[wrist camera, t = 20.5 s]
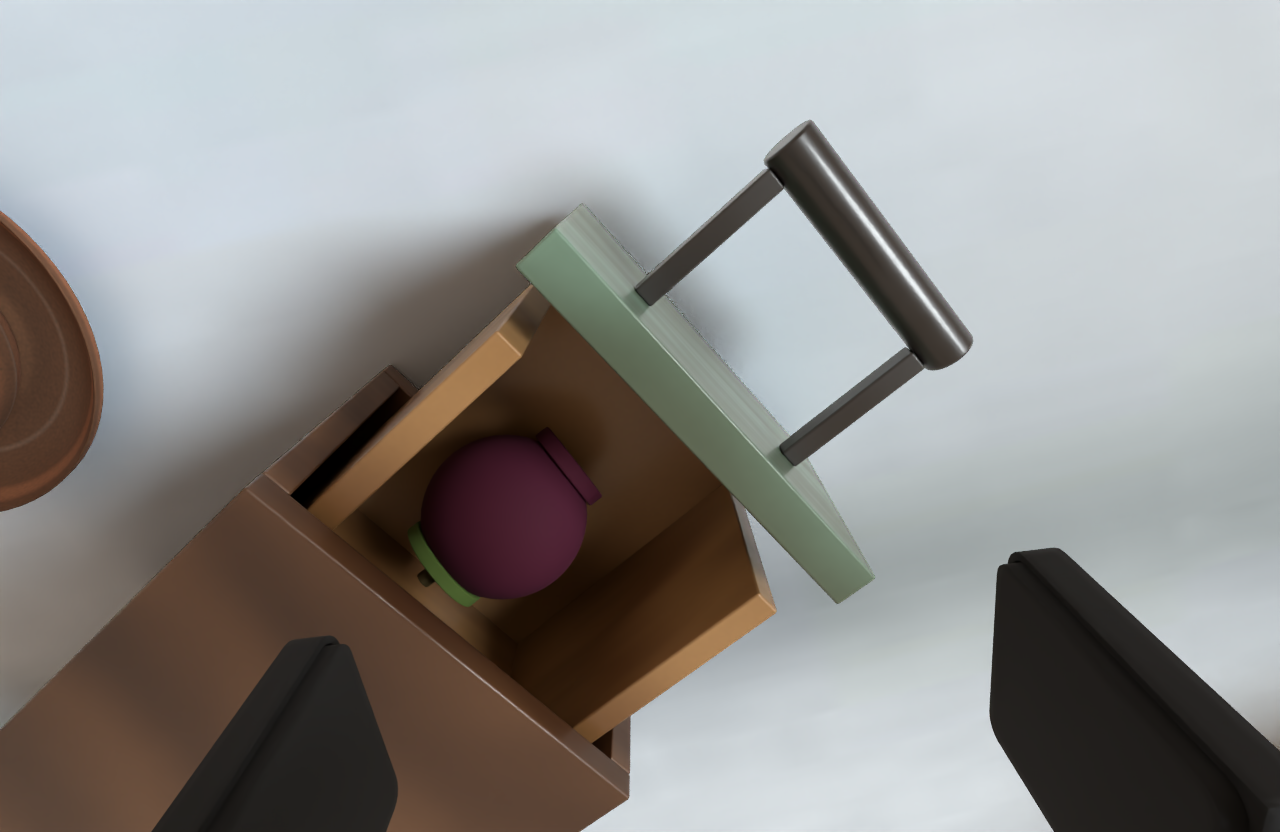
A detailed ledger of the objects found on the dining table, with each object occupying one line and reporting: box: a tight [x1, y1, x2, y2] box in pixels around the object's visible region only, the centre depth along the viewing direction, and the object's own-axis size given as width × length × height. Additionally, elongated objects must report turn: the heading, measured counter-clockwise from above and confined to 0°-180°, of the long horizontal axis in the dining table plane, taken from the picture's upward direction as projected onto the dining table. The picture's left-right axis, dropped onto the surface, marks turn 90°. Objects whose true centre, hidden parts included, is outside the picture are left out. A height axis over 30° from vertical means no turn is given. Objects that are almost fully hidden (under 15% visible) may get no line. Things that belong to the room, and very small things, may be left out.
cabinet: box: [0, 365, 630, 832], centre depth 23 cm, size 15×13×10 cm
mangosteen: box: [407, 427, 602, 607], centre depth 21 cm, size 5×5×6 cm
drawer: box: [301, 120, 973, 743], centre depth 20 cm, size 19×11×8 cm, turn 132°
